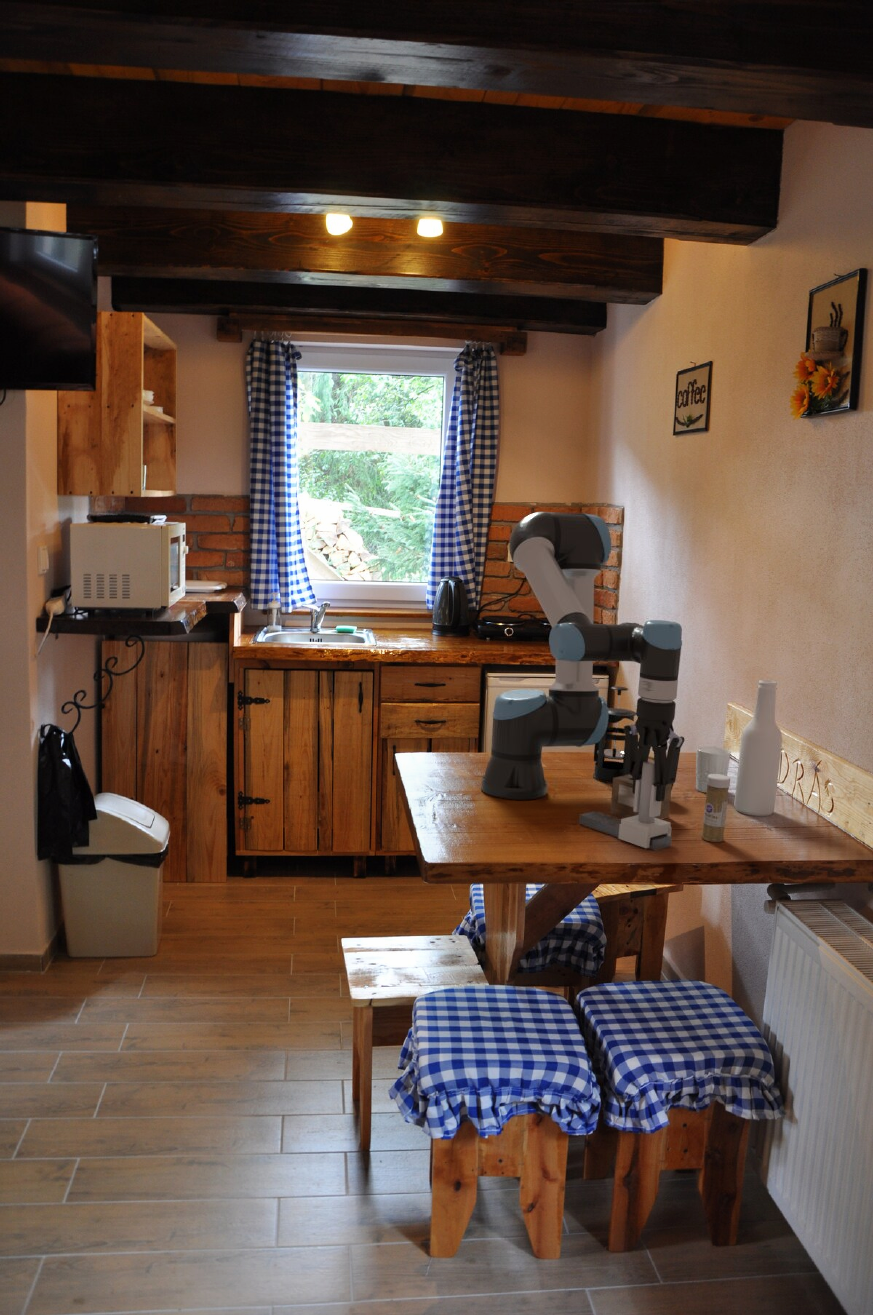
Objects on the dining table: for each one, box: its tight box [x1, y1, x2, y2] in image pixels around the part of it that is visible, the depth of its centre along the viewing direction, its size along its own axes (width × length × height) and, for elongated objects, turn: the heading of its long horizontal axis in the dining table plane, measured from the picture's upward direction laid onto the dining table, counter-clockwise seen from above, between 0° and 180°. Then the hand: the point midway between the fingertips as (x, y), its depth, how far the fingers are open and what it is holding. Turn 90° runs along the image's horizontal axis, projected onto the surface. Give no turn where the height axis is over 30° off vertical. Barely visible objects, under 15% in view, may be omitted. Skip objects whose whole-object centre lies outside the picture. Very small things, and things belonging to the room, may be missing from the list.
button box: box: [609, 774, 673, 820], centre depth 235 cm, size 9×9×8 cm
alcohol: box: [733, 679, 783, 817], centre depth 241 cm, size 9×9×30 cm
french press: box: [592, 686, 637, 784], centre depth 264 cm, size 12×9×23 cm
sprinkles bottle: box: [701, 774, 731, 843], centre depth 220 cm, size 5×5×14 cm
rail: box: [578, 810, 673, 852], centre depth 221 cm, size 20×5×2 cm, turn 41°
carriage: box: [617, 761, 672, 849], centre depth 216 cm, size 7×8×16 cm
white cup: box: [695, 745, 732, 794], centre depth 259 cm, size 8×8×10 cm
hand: (646, 813), depth 216 cm, fingers closed on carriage, 3 cm apart
